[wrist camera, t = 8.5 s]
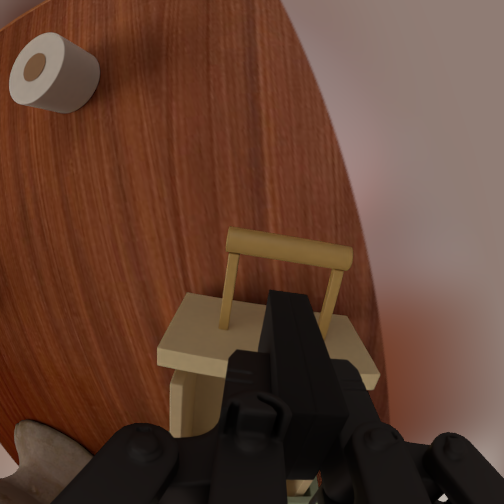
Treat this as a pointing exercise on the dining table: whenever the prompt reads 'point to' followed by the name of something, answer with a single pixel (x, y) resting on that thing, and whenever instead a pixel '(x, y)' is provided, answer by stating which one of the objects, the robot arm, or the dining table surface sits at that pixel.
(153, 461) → the robot arm
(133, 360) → the dining table surface
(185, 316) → the drawer
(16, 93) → the paper roll
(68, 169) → the dining table surface
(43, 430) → the bowl
